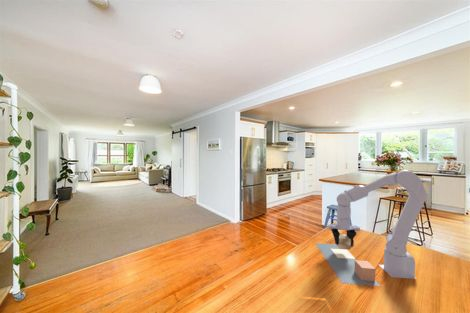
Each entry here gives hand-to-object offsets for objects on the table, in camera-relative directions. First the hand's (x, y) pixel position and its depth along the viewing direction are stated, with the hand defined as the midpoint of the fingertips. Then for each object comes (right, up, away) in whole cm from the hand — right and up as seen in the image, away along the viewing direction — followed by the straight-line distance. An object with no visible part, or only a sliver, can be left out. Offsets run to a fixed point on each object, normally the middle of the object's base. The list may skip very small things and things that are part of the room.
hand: (342, 244), depth 89 cm
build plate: (+9, -6, +10) cm, 15 cm away
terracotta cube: (-1, -5, -16) cm, 17 cm away
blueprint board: (-4, -6, -5) cm, 9 cm away
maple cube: (0, -1, 0) cm, 1 cm away
